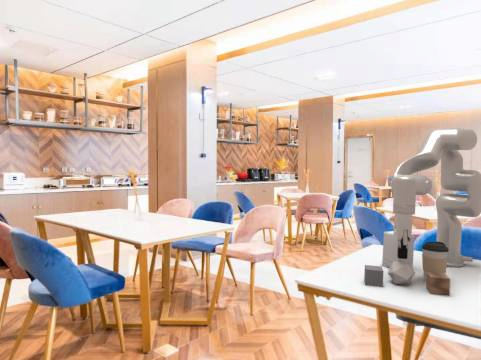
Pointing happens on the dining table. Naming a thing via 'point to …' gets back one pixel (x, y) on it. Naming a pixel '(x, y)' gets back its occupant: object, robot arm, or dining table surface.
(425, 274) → the coffee cup
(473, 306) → the dining table surface
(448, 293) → the walnut block
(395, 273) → the die
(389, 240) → the supplement box
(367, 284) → the charcoal block
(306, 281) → the dining table surface
